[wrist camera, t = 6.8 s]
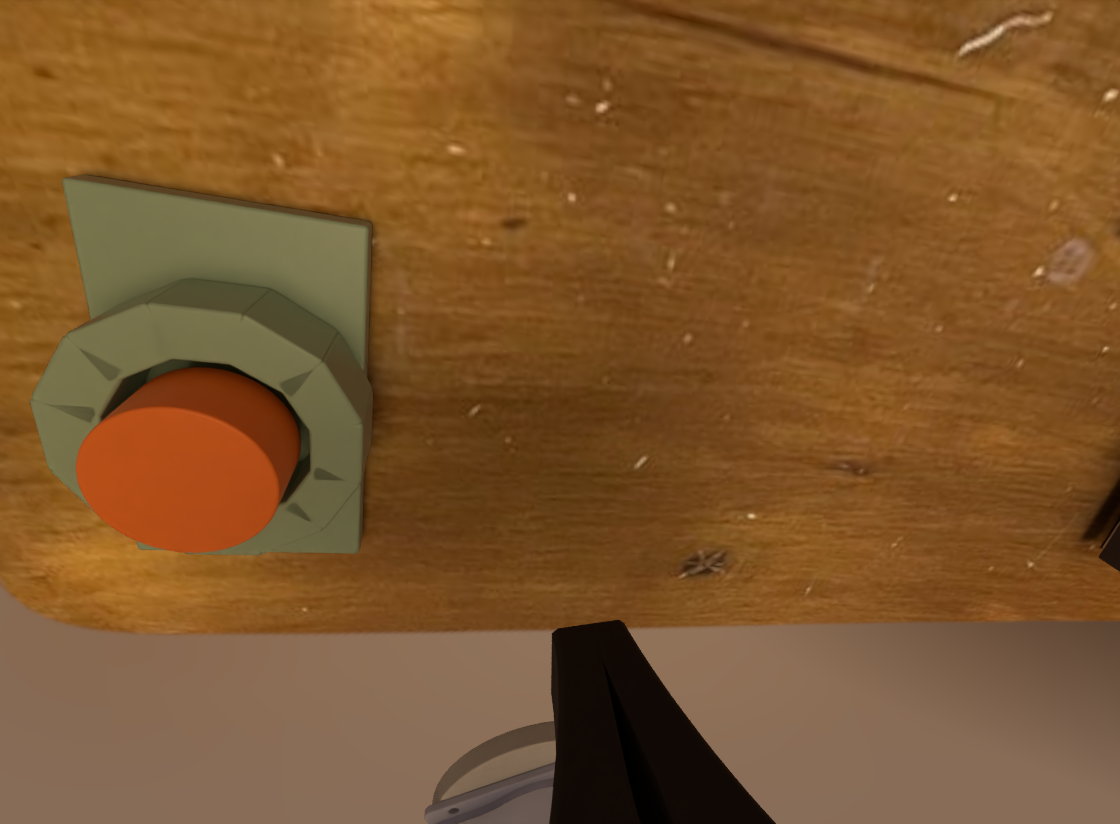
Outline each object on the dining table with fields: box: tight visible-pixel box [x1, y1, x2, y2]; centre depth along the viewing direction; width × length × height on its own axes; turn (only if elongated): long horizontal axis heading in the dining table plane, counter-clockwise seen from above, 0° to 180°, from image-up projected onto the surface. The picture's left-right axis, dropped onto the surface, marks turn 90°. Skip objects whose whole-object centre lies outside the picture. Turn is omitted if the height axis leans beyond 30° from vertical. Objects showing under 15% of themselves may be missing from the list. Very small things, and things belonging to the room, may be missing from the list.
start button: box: [76, 367, 301, 553], centre depth 12 cm, size 4×4×2 cm
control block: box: [30, 175, 373, 555], centre depth 13 cm, size 10×6×3 cm, turn 169°
